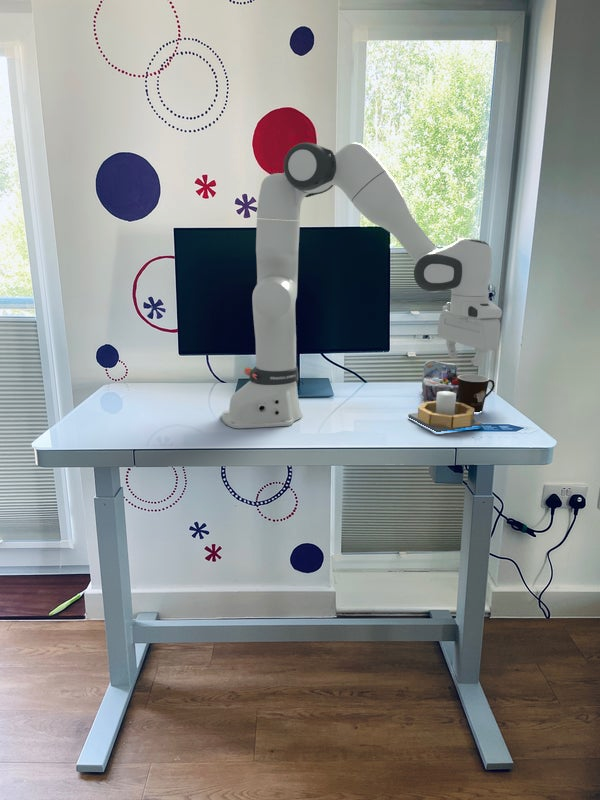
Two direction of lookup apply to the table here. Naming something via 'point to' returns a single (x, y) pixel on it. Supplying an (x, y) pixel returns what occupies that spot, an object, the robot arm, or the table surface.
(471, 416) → the wooden ring
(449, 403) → the piston stand
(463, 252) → the robot arm
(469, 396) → the coffee mug
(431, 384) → the cell model
